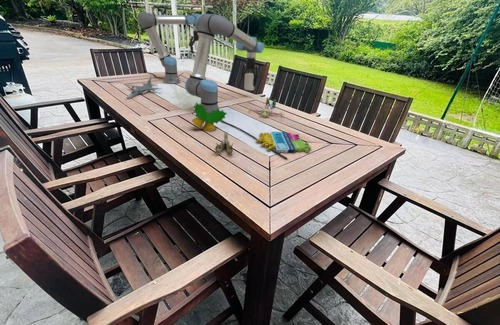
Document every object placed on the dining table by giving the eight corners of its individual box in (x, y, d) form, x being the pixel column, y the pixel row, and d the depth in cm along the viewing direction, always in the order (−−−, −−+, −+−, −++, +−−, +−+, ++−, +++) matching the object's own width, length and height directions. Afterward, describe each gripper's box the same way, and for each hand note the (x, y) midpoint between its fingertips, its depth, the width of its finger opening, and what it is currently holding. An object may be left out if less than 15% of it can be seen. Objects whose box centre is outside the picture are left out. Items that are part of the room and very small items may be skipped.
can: (242, 87, 233) (243, 73, 227) (252, 87, 236) (253, 73, 230) (245, 90, 226) (246, 75, 220) (255, 90, 228) (256, 75, 222)
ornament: (218, 133, 171) (224, 110, 169) (221, 134, 163) (227, 111, 161) (186, 125, 162) (192, 101, 160) (189, 126, 155) (195, 101, 153)
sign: (313, 150, 142) (258, 149, 139) (312, 153, 143) (258, 152, 140) (301, 132, 164) (254, 130, 161) (301, 134, 165) (254, 133, 162)
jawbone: (234, 135, 144) (233, 125, 135) (233, 160, 138) (232, 151, 129) (217, 135, 144) (216, 125, 135) (216, 160, 138) (214, 150, 129)
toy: (288, 100, 208) (284, 110, 182) (287, 109, 211) (283, 120, 186) (254, 96, 213) (245, 105, 187) (254, 104, 216) (245, 115, 190)
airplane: (121, 88, 233) (119, 76, 228) (157, 85, 246) (156, 75, 241) (125, 101, 205) (123, 88, 199) (166, 97, 218) (165, 85, 213)
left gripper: (188, 31, 256) (189, 54, 266) (208, 31, 272) (209, 53, 283) (184, 30, 260) (185, 53, 271) (204, 30, 277) (204, 52, 287)
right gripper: (264, 58, 217) (262, 86, 228) (242, 55, 225) (240, 82, 236) (260, 59, 211) (258, 87, 222) (237, 56, 219) (236, 83, 230)
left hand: (197, 53), depth 277 cm, fingers open, 13 cm apart
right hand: (249, 84), depth 229 cm, fingers closed on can, 9 cm apart
